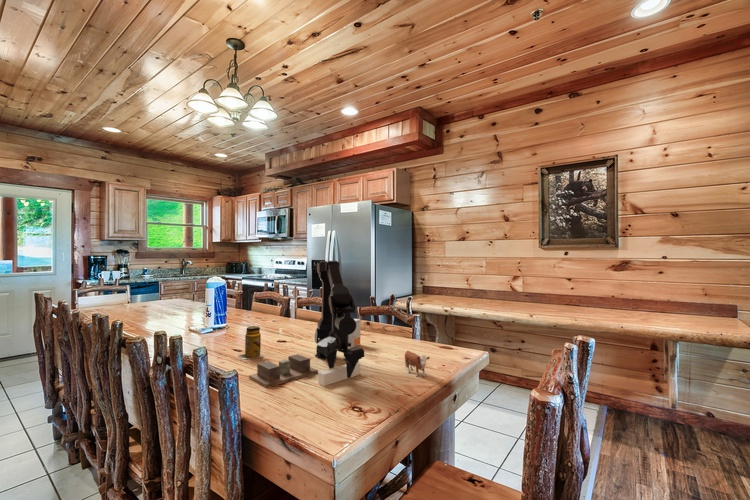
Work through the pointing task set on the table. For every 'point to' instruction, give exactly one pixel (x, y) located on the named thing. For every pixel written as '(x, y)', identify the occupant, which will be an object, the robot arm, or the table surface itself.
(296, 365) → the display stand
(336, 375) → the frame bar
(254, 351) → the condiment
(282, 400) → the table surface
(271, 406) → the table surface
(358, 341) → the skincare box
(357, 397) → the table surface
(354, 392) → the table surface
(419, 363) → the bull figurine
